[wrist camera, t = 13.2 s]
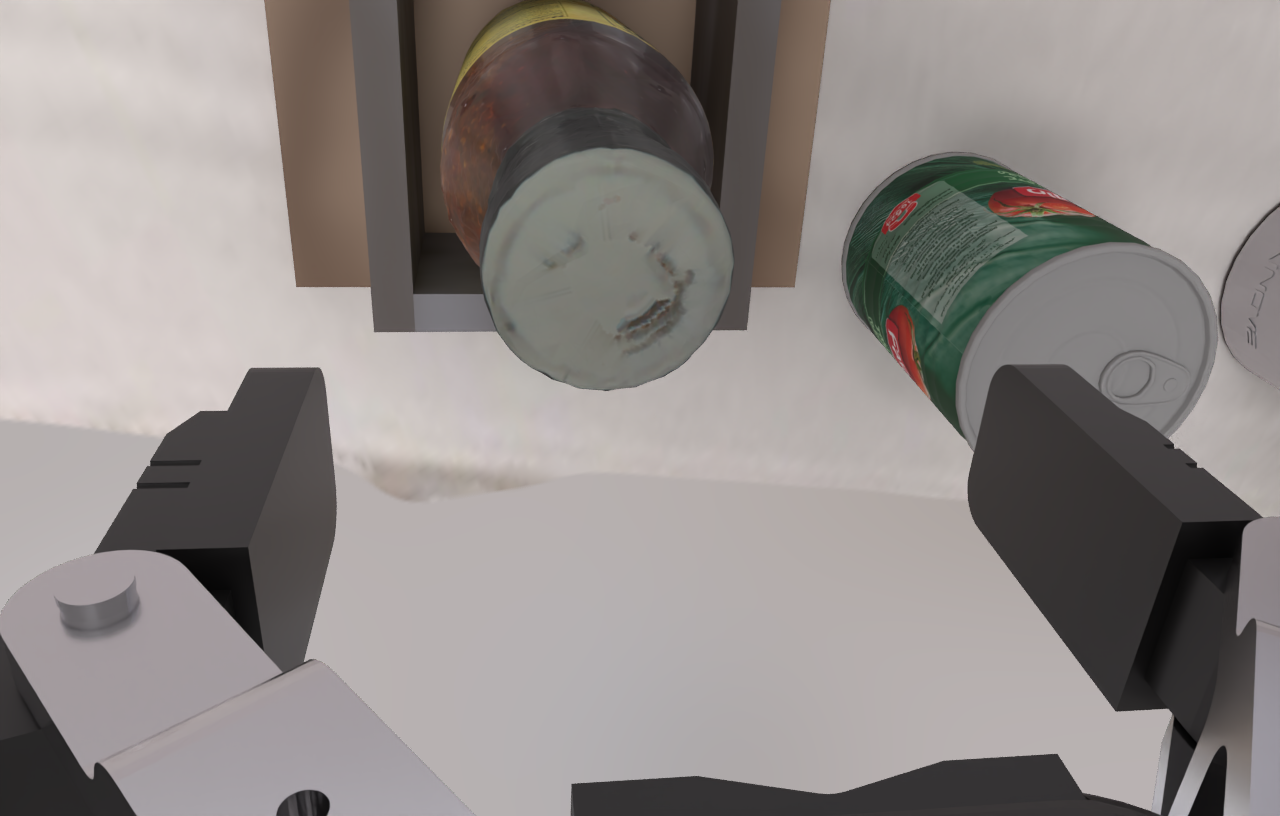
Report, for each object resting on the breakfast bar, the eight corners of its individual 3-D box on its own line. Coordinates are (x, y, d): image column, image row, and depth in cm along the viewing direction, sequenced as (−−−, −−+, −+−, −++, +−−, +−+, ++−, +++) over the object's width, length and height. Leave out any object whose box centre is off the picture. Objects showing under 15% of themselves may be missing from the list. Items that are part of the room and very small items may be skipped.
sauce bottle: (655, 169, 35) (821, 453, 17) (476, 197, 35) (463, 514, 17) (633, -34, 32) (806, 63, 14) (436, -6, 32) (369, 128, 14)
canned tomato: (816, 331, 40) (920, 474, 30) (877, 133, 36) (1017, 222, 27) (995, 359, 42) (1149, 502, 32) (1069, 171, 38) (1266, 268, 28)
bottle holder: (838, -136, 32) (920, -142, 26) (787, 278, 39) (844, 352, 32) (251, -173, 30) (189, -188, 24) (301, 276, 36) (262, 357, 30)
